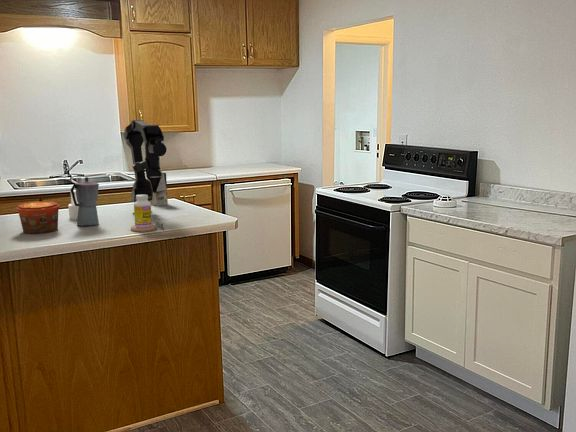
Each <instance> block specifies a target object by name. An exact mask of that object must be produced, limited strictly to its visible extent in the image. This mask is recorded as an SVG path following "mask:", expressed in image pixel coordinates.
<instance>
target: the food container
mask: <svg viewBox="0 0 576 432" xmlns="http://www.w3.org/2000/svg"><path fill="white" fill-rule="evenodd" d="M59 208H61V205H60V204H59V203H58V202H56V201H35V202H32V201H31V202H25V203H22V204H19V205H18V206H17V207H16V209H15V210H16V211H18V216H19V219H20V220H19V221H20V224H21V227H22V232H23V233H25V234H29V235H39V234H47V233H52V232H55V231H57V230H58V229H59Z"/></svg>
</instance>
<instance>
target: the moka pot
mask: <svg viewBox="0 0 576 432" xmlns="http://www.w3.org/2000/svg"><path fill="white" fill-rule="evenodd" d="M99 186H100V184H99V182H94V181H89V177H84V181H80V182H77V183H73V184H72V186H71V189H70V190H71V192H70V194H71V193H72V197H73V200H74V204H75V206H79V208H78V217H77V219H76V225H78V226H80V227H83V226H85V227H87V226H88V227H89V226H96V225H99V223H100V222H99V216H98V210H97V209H98V208H97V201H98V197H99ZM74 190H76V196H77V201H78V204H77V202H76V199H75V193H74Z"/></svg>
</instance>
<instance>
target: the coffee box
mask: <svg viewBox="0 0 576 432" xmlns="http://www.w3.org/2000/svg"><path fill="white" fill-rule="evenodd" d="M146 179H147V178H146ZM147 180H148V181H150V180H149V179H147ZM167 182H168V181H167V173H166V172H162V176H161V180H160V183H159V185H158V188H157V191H156V193H153V196H152V200H149V202H150V203H151V206H152V205H154V206H157V207H159V206H160V207H161V206H167V205H168V204H169V202H168V184H167ZM150 184H151V181H150ZM151 187H152V185H151ZM152 190H153V189H152Z"/></svg>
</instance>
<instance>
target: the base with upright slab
mask: <svg viewBox="0 0 576 432" xmlns="http://www.w3.org/2000/svg"><path fill="white" fill-rule="evenodd" d="M74 193H75V199H76V202H77V204H78V201H77V196H76V190H75V189H74ZM78 208H79V206H75V204H74V200H73V197H72V193H71V189H70V203H69V204H68V216H69V217H68V218H69V219H70V220H77V217H78Z"/></svg>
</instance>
